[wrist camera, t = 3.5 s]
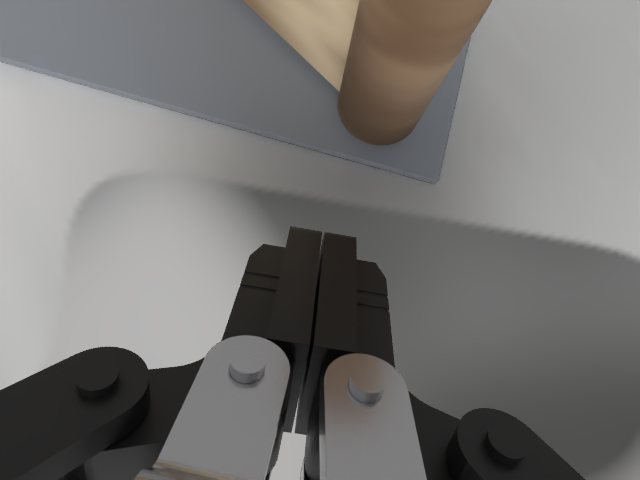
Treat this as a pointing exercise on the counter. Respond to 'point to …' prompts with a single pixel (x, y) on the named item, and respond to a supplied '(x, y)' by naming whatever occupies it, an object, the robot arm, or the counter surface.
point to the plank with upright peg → (377, 54)
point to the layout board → (212, 72)
